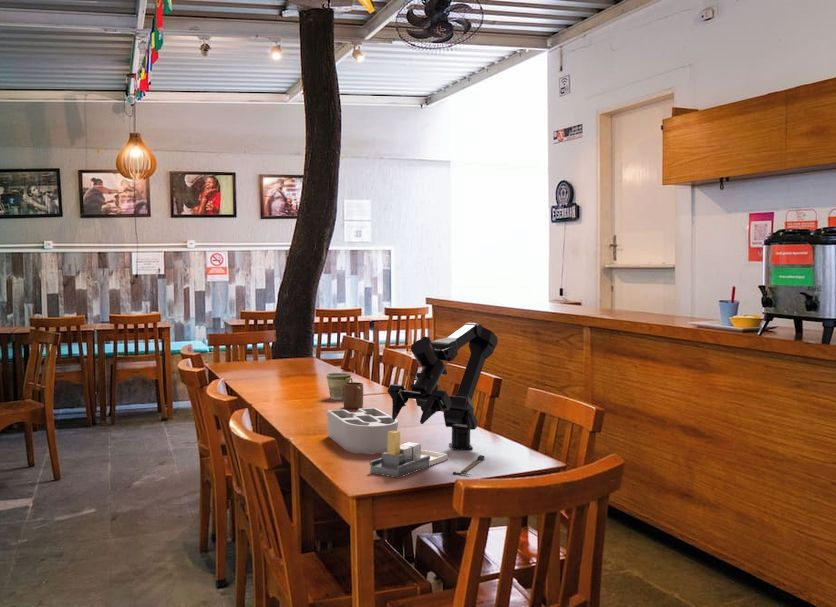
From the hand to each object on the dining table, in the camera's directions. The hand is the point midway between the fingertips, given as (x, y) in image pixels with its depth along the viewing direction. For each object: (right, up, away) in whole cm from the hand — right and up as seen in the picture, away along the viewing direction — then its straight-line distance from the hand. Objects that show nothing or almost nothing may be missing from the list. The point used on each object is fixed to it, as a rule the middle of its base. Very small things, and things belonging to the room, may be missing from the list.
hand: (407, 421), depth 216 cm
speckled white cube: (+1, -11, +3) cm, 11 cm away
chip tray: (+5, -13, +9) cm, 16 cm away
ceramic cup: (-29, -7, +109) cm, 113 cm away
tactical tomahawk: (+19, -14, +3) cm, 24 cm away
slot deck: (-2, -13, -2) cm, 13 cm away
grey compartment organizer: (-14, -12, +29) cm, 34 cm away
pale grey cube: (-1, -11, -1) cm, 11 cm away
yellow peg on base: (-4, -11, -5) cm, 12 cm away
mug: (-21, -8, +88) cm, 91 cm away
